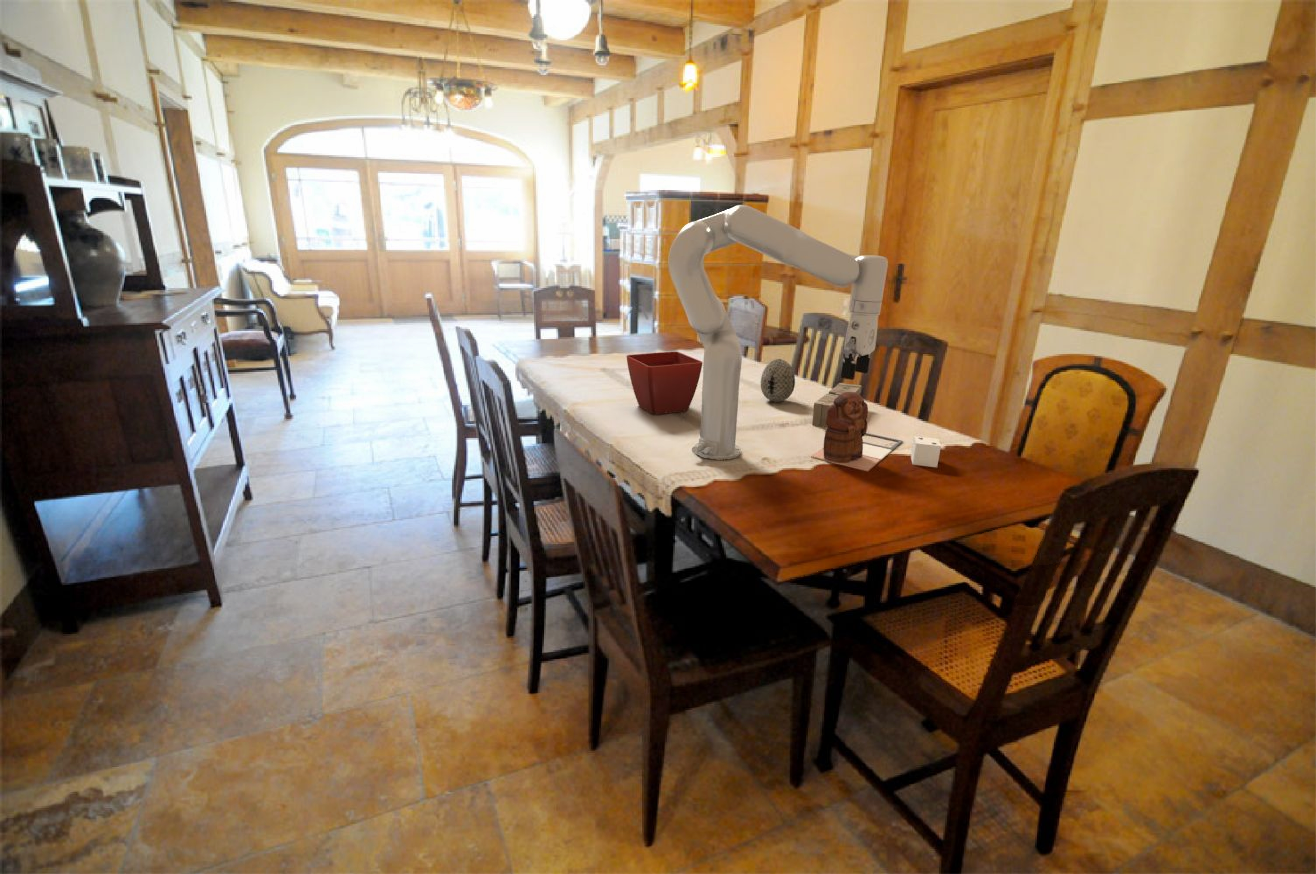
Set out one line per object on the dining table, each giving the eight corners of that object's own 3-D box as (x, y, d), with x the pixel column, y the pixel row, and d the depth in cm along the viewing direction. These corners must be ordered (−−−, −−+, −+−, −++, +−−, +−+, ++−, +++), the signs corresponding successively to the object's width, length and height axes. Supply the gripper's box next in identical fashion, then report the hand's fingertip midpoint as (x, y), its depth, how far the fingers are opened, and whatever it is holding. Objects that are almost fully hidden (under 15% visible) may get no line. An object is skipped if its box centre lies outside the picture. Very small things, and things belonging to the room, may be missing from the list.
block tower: (835, 433, 193) (859, 407, 216) (838, 407, 190) (863, 384, 213) (810, 428, 196) (837, 404, 220) (813, 402, 193) (839, 380, 217)
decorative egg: (797, 400, 222) (802, 358, 217) (785, 408, 213) (789, 364, 208) (766, 395, 228) (770, 354, 223) (753, 402, 219) (756, 359, 214)
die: (936, 467, 165) (940, 445, 163) (912, 464, 166) (916, 443, 164) (934, 459, 170) (938, 438, 168) (910, 457, 172) (914, 436, 170)
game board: (867, 471, 161) (867, 470, 160) (810, 457, 169) (811, 455, 169) (902, 442, 183) (902, 440, 183) (850, 430, 192) (851, 429, 191)
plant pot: (624, 403, 214) (625, 354, 208) (675, 398, 221) (677, 350, 216) (647, 419, 197) (648, 366, 192) (701, 413, 205) (704, 362, 199)
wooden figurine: (837, 465, 163) (846, 398, 157) (818, 458, 168) (826, 392, 162) (867, 457, 169) (877, 392, 163) (849, 450, 174) (857, 387, 168)
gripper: (867, 312, 147) (856, 384, 152) (891, 306, 160) (880, 372, 165) (836, 308, 151) (827, 378, 156) (862, 303, 164) (852, 367, 170)
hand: (854, 375), depth 161 cm, fingers open, 9 cm apart
